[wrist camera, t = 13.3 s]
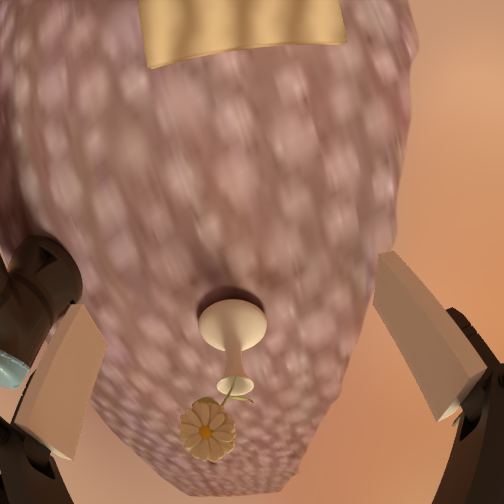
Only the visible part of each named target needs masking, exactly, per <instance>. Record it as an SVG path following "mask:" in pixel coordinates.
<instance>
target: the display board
mask: <svg viewBox="0 0 504 504" xmlns="http://www.w3.org/2000/svg"><path fill="white" fill-rule="evenodd" d="M138 6H139V14H140V21H141V29H142V36H143V42H144V49H145V55H146V61H147V67H148V68H151V69H154V68H157V67H161V66H164V65H168V64H172V63H176V62H179V61H184V60H188V59H192V58H197V57H201V56H206V55H211V54H217V53H222V52H228V51H235V50H242V49H250V48H258V47H269V46H281V45H302V44H337V45H342V44H344V43H346V42H347V37H346V32H345V27H344V23H343V18H342V14H341V9H340V5H339V1H338V0H138Z"/></svg>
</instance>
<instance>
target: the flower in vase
mask: <svg viewBox="0 0 504 504" xmlns="http://www.w3.org/2000/svg"><path fill="white" fill-rule="evenodd" d="M198 327H199V331H200V333H201V335H202V337H203V339H204V340H205V341H206V342H207V343H208V344H210V345H211V346H213V347H215V348H217V349H220V350H223V351H226V358H227V359H226V369H225V373H224V375H223V377H222V378H221V379H220V380H219V381H218V383H217V389H218V390H219V391H220V392H222V393H224V394H227V396H226V398H225V399H224V401H223V403H222V404H221V405H220V406H219V404H218V403H217V402H216V401H215V400H213V399H212V398H210V397H204V398H201V399H199V400H197V401H196V402H194V403H193V404H192V410H191V409H186V410H185V415H181V416H180V419H181V423H182V424H179V425H178V429H179V430H180V431H181V433H180V434H179V437H180V438H181V441H182V442H183V443H184V447H185V448H187V449H188V450H191V455H192V456H194V457H195V458H197V459H198V458H200V459H201V460H202V461H206V460H207V459H209V460H210V461H212V462H217V461H218V459H222V457H224V452H225V453H230V451H232V450H233V448H234V445H235V440H234V439H233V437H235V436H236V432H235V421H234V420H233V419H230V415H229V413H227V412H225V413H224V407H223V406H224V404H225V402H226V401H227V399H228V398H229V397H231V398H234V399H237V400H248V401H250V402H252V403H253V401H252V400H250V399H245V398H242V397H235V396H230V395H243V394H246V393H248V392H250V391H251V390H252V389H253V387H254V384H253V382H252V380H251V379H249V378H248V377H247V376H246V374H245V372H244V369H243V365H242V358H241V353H242V350H246V349H248V348H250V347H252V346H254V345H255V344H257V343H258V342H259V341H260V340H261V339H262V337H263V336H264V334H265V331H266V328H267V319H266V316H265V314H264V313H263V312H262V311H261V309H259V308H258V307H257V306H255V305H254V304H252V303H249V302H247V301H244V300H238V299H228V300H222V301H219V302H216V303H214V304H212V305H211V306H209V307H208V308H206V309H205V310H204V311H203V313H202V314H201V316H200V318H199V322H198Z"/></svg>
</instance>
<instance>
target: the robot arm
mask: <svg viewBox="0 0 504 504" xmlns="http://www.w3.org/2000/svg"><path fill="white" fill-rule="evenodd" d="M81 295H82V279H81V275H80V272H79V270H78V268H77V266H76V264H75V262H74V261H73V259H72V258H71V257H70V255H69V254H68V253H67V252H66V251H65V250H64V249H63V248H62V247H61V246H60V245H59V244H57V243H56V242H54V241H52V240H51V239H48V238H46V237H42V236H32V237H29V238H27V239H26V240H25V241H24V242H22V243H21V244H20V245H19V246H18V247H17V249H16V250H15V252H14V254H13V256H12V259H11V261H10V263H9V266H8V268H7V269H6V267H5V264H4V262H3V259H2V257H1V255H0V386H1V387H4V388H8V389H16V388H18V387H19V386H20V385H21V384H22V382H23V380H24V379H25V377H26V375H27V373H29V372H30V369H31V366H32V364H33V362H34V360H35V358H36V356H37V354H38V352H39V350H40V348H41V346H42V344H43V342H44V340H45V338H46V337H47V335H48V333H49V331H50V329H51V327H52V326H53V324H54V323H56V322H57V321H58V320H60V319H61V318H62V317H64V318H63V319H62V321H61V323H60V325H59V326H58V328H57V330H56V332H55V334H54V335H53V337H52V339H51V341H50V343H49V345H48V347H47V349H46V351H45V353H44V355H43V357H42V359H41V361H40V363H39V365H38V367H37V369H36V370H35V371H34V372H33V374H32V375H31V376H30V378H29V380H28V382H27V384H26V388H25V389H24V391H23V393H22V394H23V396H21V398H20V401H19V403H18V405H17V408H16V410H15V413H14V416H13V418H12V421H11V423H10V424H9V423H7V422H6V421H5V420H4V419H3V418H2V417H1V416H0V471H1V474H0V504H74V503H73V501H72V499H71V497H70V495H69V493H68V491H67V488H66V486H65V484H64V482H63V479H62V477H61V475H60V472H59V470H58V467H57V465H56V462H55V460H54V458H53V457H52V456H51V455H50V453H51V451H52V452H54V453H55V454H56V455H58V456H59V457H61V458H65V459H69V460H72V461H73V460H74V456H75V452H76V447H77V443H78V439H79V435H80V431H81V428H82V423H83V420H84V417H85V413H86V410H87V406H88V403H89V400H90V396H91V393H92V390H93V387H94V384H95V381H96V378H97V375H98V372H99V369H100V366H101V363H102V360H103V357H104V354H105V352H106V349H107V346H108V344H107V342H106V341H105V339H104V338H103V336H102V335H101V333H100V331H99V330H98V328H97V327H96V325H95V323H94V322H93V320H92V318H91V317H90V315H89V313H88V311H87V310H86V308H85V306H84V304H83V303H80V304H77V303H78V301H79V299H80V297H81ZM373 305H374V307H375V309H376V310H377V312H378V314H379V315H380V317H381V319H382V320H383V322H384V324H385V325H386V327H387V329H388V331H389V332H390V334H391V336H392V337H393V339H394V341H395V343H396V344H397V346H398V348H399V350H400V351H401V353H402V355H403V357H404V359H405V361H406V362H407V364H408V366H409V368H410V370H411V372H412V374H413V376H414V377H415V379H416V381H417V383H418V385H419V387H420V389H421V391H422V393H423V395H424V397H425V399H426V401H427V403H428V405H429V407H430V409H431V411H432V413H433V415H434V417H435V420H436V422H438V421H440V420H442V419H444V418H446V417H448V416H450V415H452V414H454V412H455V411H456V410H457V409H458V407H459V406H461V408H462V409H463V412H462V413H461V414H460V415H459V416H458V417H457V419H456V420H455V421H454V423H453V425H452V426H455V425H456V424H457V423H458V422H459V425H458V429H457V433H456V437H455V440H454V444H453V447H452V451H451V454H450V457H449V460H448V463H447V466H446V469H445V472H444V475H443V477H442V480H441V483H440V485H439V488H438V490H437V493H436V495H435V497H434V500H433V502H432V504H504V363H502V364H501V363H500V362H499V361H498V360H497V358H496V357H495V355H494V354H493V353H492V351H491V350H490V348H489V347H488V346H487V344H486V343H485V342H484V340H483V339H482V338H481V336H480V335H479V334H477V331H476V330H475V328H474V327H473V326H471V323H470V322H469V321H468V320H467V318H466V317H465V316H464V315H463V314H462V313H460V312H459V311H457V310H456V309H454V308H453V307H452V308H449V309H447V310H445V309H444V308H443V307H442V305H441V304H440V303H439V302H438V300H437V299H436V298H435V297H434V296H433V294H432V293H431V292H430V291H429V290H428V289H427V287H426V286H425V285H424V284H423V283H422V281H421V280H420V279H419V278H418V277H417V276H416V275H415V274H414V272H413V271H412V270H411V269H410V268H409V267H408V266H407V265H406V263H405V262H404V261H403V260H402V259H401V258H400V257H399V256H398V255H397V254H396V253H395V252H394V251H391V252H386V253H381V254H379V255H378V266H377V275H376V284H375V292H374V300H373Z"/></svg>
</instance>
